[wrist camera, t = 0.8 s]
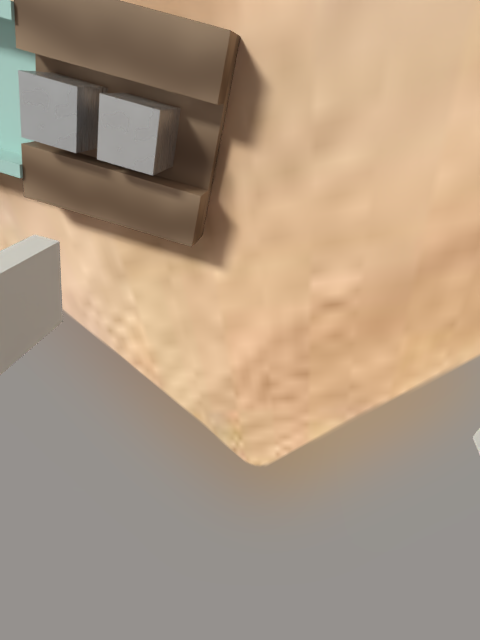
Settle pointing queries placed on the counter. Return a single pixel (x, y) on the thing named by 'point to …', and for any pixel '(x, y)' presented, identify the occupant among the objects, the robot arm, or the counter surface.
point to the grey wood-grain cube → (137, 132)
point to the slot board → (141, 80)
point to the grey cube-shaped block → (59, 110)
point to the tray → (11, 92)
